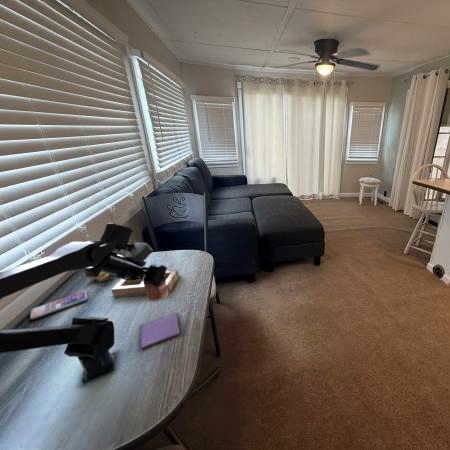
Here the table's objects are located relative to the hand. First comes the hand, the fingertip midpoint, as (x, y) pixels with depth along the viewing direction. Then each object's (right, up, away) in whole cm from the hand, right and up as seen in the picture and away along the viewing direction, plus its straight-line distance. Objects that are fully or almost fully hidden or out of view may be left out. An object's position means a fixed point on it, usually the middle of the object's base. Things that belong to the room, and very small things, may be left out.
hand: (157, 278), depth 81 cm
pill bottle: (0, -7, +1) cm, 7 cm away
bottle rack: (-14, -7, +17) cm, 23 cm away
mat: (+4, -15, -6) cm, 17 cm away
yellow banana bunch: (-38, -5, +24) cm, 46 cm away
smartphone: (-40, -12, +7) cm, 42 cm away
